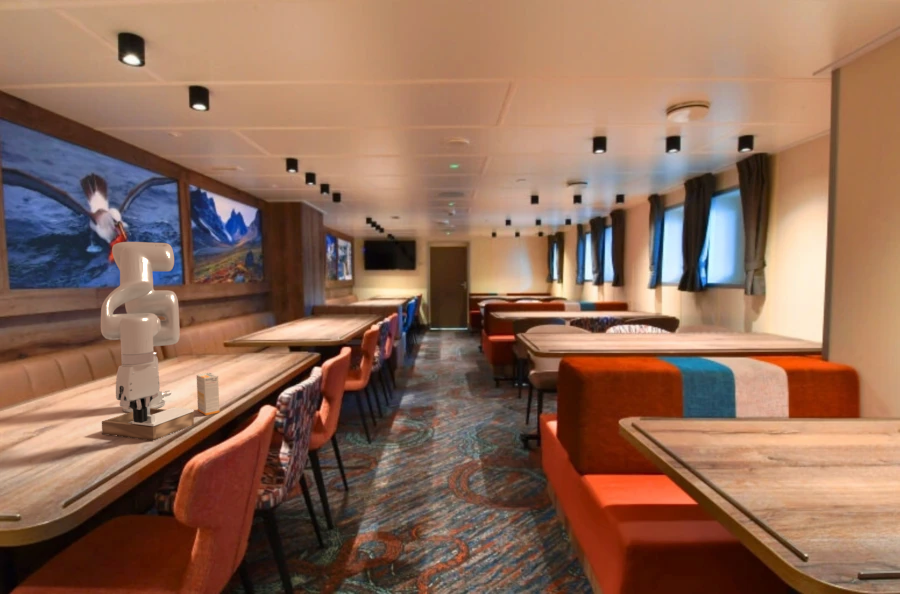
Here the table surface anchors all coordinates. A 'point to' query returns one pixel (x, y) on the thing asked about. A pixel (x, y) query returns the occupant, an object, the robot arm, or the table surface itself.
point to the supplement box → (208, 393)
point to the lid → (165, 416)
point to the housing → (145, 426)
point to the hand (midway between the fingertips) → (140, 421)
